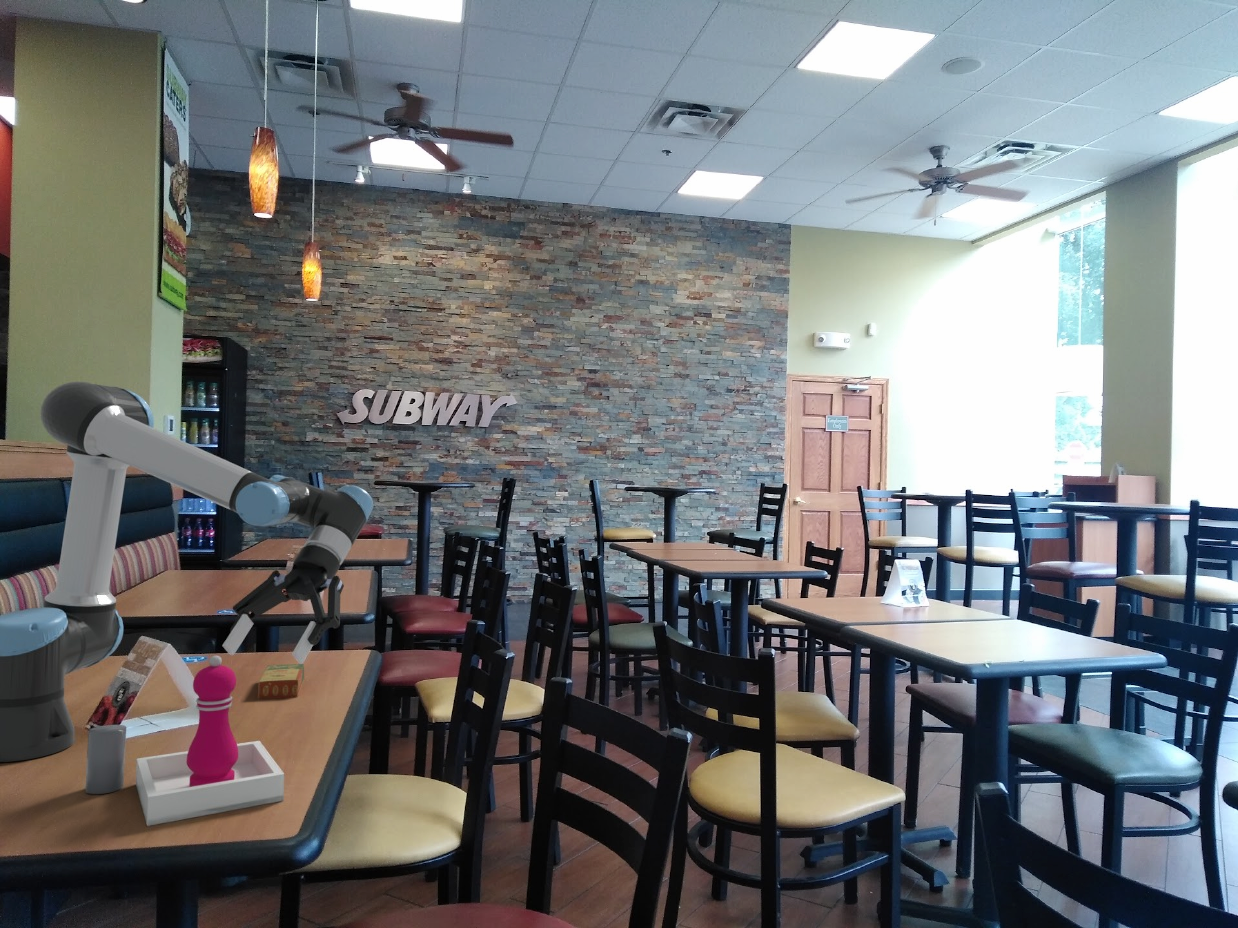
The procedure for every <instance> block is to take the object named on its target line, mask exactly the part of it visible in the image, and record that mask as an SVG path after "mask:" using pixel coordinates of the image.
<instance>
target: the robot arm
mask: <svg viewBox="0 0 1238 928" xmlns="http://www.w3.org/2000/svg"><path fill="white" fill-rule="evenodd" d="M40 407H41V409H40V420H41V423H42V425H43V426H42V427H43V428H44V430H45V431H46V432H47V434H49V436H50V437H51V438H53V439H54V440H55V441H58V442H59V443H61V444H64V445H66V446H67V447H66V453H65V454H66V455H67V456H69V458H70V459H71V460H72V461H73V464H74V465H73V472H72V477H71V484H70V491H69V499H68V505H67V506H68V507H67V512H66V518H65V525H64V532H63V539H62V546H61V553H60V558H59V566H58V572H57V578H56V579H57V580H56V584H55V585H56V586H55V589H54V590H53V591H50V592H49V593H48V594H46V596H44V600H43V606H42V607H32V608H25V609H23V610H14V611H10V612H5V613H4V614H1V615H0V763H9V762H18V761H25V760H32V759H36V758H37V759H38V758H41V757H47V756H49V755H52V754H55V753H58V752H62V751H64V750H66V749H68V748H69V747H71V746H73V745H74V743H75V731H76V730H75V727H74V723H73V721H72V718H71V715H70V712H69V709H68V706H67V704H66V701H65V683H66V681H65V680H66V678H65V677H66V675H68V674H70V673H74V672H76V671H79V670H82V669H85V668H86V669H87V668H89V667H92V666H95V665H97V664H99V663H100V662H101V661H103V660H105V659H107V658H108V657H110V656H111V655H112V654H113V653H114V652H115V651H116V650H117V648H118V647H119V645H120V644H121V641H122V639H123V635H124V623H123V622H124V621H123V619H122V616H120V615H119V611H118V609H116V603H117V598H116V597H115V596H114V595H113V594H112V593H111V591H110V585H111V577H112V569H113V562H114V556H115V550H116V543H117V537H118V529H119V525H120V524H119V523H120V518H121V517H120V516H121V509H122V502H123V495H124V488H125V484H126V483H125V482H126V476H127V469H128V468H129V467H132V468H135V469H136V470H137V469H138V470H140V471H141V472H144V473H146V474H147V475H151V476H153V477H155V478H157V479H159V480H162V481H164V482H167V483H168V484H170V485H171V484H172V485H173V486H176V487H177V488H180V489H182V490H184V491H187V492H188V493H189V492H190V493H192V494H193V495H196V496H199V497H201V498H203V499H205V500H208V501H210V502H212V503H214V504H216V505H218V506H221V507H223V508H226V509H228V510H230V511H232V512H234V513H236V514H238V516H239V518H240V519H241V520H242V521H243V522H245V523H247V524H249V525H251V526H256V527H271V526H274V525H277V524H284V523H290V522H291V523H292V522H295V523H297V524H299V525H302V526H303V525H304V526H307V527H310V528H313V531H312V532H311V533H310V535H309V537H308V538H307V539H306V542H305V543H304V544H303V546H302V547H301V549H300V550H299V552H298V554H297V555H296V557H295V558H294V560H293V561H292V562H293V563H292V568H291V570H290V571H289V572H288V573H286V574H283V573H280V571H279V570H273V571H272V572H271V574H270V575H269V576H268V578H267V579H266V580H264V581H263V582H262V583H261V584H259V585H258V586H257V587H256V588H254V589H253V590H252V591H250V592H249V593H248V594H246V595H245V597H243V598H242V599H240V600H239V601H238V602H237V603H236V604H235V605H233V606H232V610H233V611H234V613H235V614H236V615H237V616H238V617H237V618H236V619H235V621H234V623H233V625H232V626H230V629H229V631H230V633H229V635H228V636H227V638H226V640H225V641H224V642H223V644H222V647H223V648H224V650H225V651H226V652H227V653H228V654H229V655H230V656H235V654H236V652H238V651H237V650H238V649H239V647H240V646H241V645H242V643H243V641H244V640H245V638H246V636H247V635H248V634H249V632H250V630H251V628H252V627H253V625H254V622H253V620H254V619H257V618H258V617H260V616H262V615H263V614H264V613H266V612H268V611H270V610H272V609H274V608H275V607H277V606H278V605H281V603H287V602H289V601H290V600H292V601H303V602H308V600H309V601H310V604H311V608H312V610H313V611H312V612H313V613H314V614H313V615H314V619H315V621H316V622H315V621H314V620H313V621H312V620H311V621H310V622H309V624H308V625H307V627H306V629H305V631H304V633H302V636H301V637H300V639H299V640H298V642H297V644H296V646H295V648H294V649H293V651H292V652H291V656H293V658H294V659H295V660H296V662H297V664H304V662H305V661H306V658H307V657H308V655H309V653H310V651H312V647H313V646H316V645H317V644H318V643H319V642H320V640H321V639H322V636H323V635H324V633H325V631H328V630H329V629H330V628H333V629H337V628H339V627H341V625H340V624H341V595H342V591H343V590H344V587H345V585H344V583H343V582H342V580H341V577H340V576H339V575H337V573H338V572H339V569H340V567H341V565H342V564H343V563H344V561H345V559H346V557H347V556H348V554H349V552H350V550H351V549H352V547H353V545H354V543H355V541H356V539H357V538H358V536H359V535H360V533H361V532H362V530H363V529H364V527H365V526H366V524H368V523H367V522H368V520H369V517H370V515H371V513H372V512H373V508H374V506H375V505H374V500H373V498H372V495H370V494H369V493H368V492H367V491H366V490H365V489H363V488H361V487H360V486H357V485H353V484H351V485H343V486H341V487H340V488H339V490H336V492H334V491H329V490H327V489H326V490H325V489H323V488H319V487H317V486H314V485H311V484H308V483H305V482H302V481H300V480H297V479H295V478H293V477H288V476H284V475H281V474H274V475H272V476H271V477H270V478H269V479H268V478H267V477H264V476H262V475H259V474H257V473H254V472H253V471H250V470H248V469H246V468H243V467H241V466H239V465H237V464H235V463H232V462H230V461H229V460H227V459H224V458H221V457H220V456H217V455H214V454H213V453H211V452H208V451H205V450H204V449H202V448H200V447H197V446H195V445H192V444H191V443H187V442H186V441H183V440H181V439H179V438H176V437H174V436H172V435H170V434H167V433H165V432H163V431H161V430H159V429H157V428H154V426H155V425H154V424H155V423H154V422H155V420H154V415H153V411H152V409H151V408H150V405H149V404H148V403H147V401H146V400H145V399H144V398H143V397H142V396H140V395H139V394H137V393H135V392H134V391H131V390H128V389H125V388H121V387H118V386H109V385H103V384H97V383H92V382H91V383H90V382H85V381H72V382H65V383H63V384H60V385H58V386H56V387H55V388H53V389H52V390H51V391H50V392H49V393H48V394H47V395H46V396H45V397H44V399H43V401H42V404H41V406H40ZM327 589H328V591H327V592H328V593H327V616H326V612H325V609H324V605H323V601H322V597H321V593H322V592H324V591H325V590H327ZM283 590H285V593H286V594H285V593H284V592H283Z"/></svg>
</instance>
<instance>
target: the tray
mask: <svg viewBox="0 0 1238 928" xmlns="http://www.w3.org/2000/svg"><path fill="white" fill-rule="evenodd" d="M237 746H238V760H237V762H236V763H235V764H234V765H233V767H232V768H231V769H232V770H234V772H235V777H234V780H229V781H223V782H217V783H211V784H205V785H199V786H193V787H189V784H190V776H191V775H192V774H193V772H192V771H191V770H190V769H189V768H188V766H187V754H188V751H189V750H186V751H180V752H173V753H167V754H165V753H164V754H159V755H158V754H157V755H154V756H153V755H152V756H145V757H140V758H136V768H135V769H136V771H135V772H136V773H135V787H136V790H137V793H138V797H139V801H140V804H141V805H140V806H141V809H142V813H143V816H144V820H145V823H146V826H147V827H150V826H155V825H159V824H166V823H170V822H172V823H173V822H176V821H181V820H187V819H192V818H197V817H203V816H207V815H213V814H219V813H224V812H229V811H236V810H241V809H245V808H250V807H256V806H261V805H266V804H273V803H277V802H283V801H284V800H285V799H284V797H285V795H284V794H285V773H284V771H283V770H282V769H281V767H280V766H279V765H278V764H277V762H276V761H275V760H274V758H273V757H272V756H271V754H270V753H269V752H268V750H267V749H266V747H265V746H264V744H262V742H261V741H260V740H256V741H255V740H254V741H247V742H241V743H237Z"/></svg>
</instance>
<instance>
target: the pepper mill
mask: <svg viewBox="0 0 1238 928" xmlns="http://www.w3.org/2000/svg"><path fill="white" fill-rule="evenodd" d="M208 664H209V665H208V666H206V667H203V668H202V669H201V670H199V671H198V672H197V673H196V674H195V676H194V678H193V682H192V688H193V692H194V693H195V695H197V697H198V698H197V699H196V700H195V701H196V706H195V708H196V710H198V715H199V716H198V717H199V720H198V726H197V730H196V732H195V735H194V737H193V739H192V741H191V744H190V745H189V748H188V750H187V751H188V754H187V766H188V768H189V769H190V770H191V771H192V772H193V774H192V775H191V776H190V784H189V787H193V786H199V785H205V784H211V783H217V782H223V781H229V780H234V777H235V772H234V770H232V769H231V768H232V767H233V765H234V764H235V763H236V762H237V760H238V746H237V744H238V742H237V741H236V739H235V738H236V737H235V736H234V734H233V732H232V729H231V727H230V726H231V725H230V721H229V720H230V719H229V718H230V717H229V713H230V712H229V711H230V707H232V706H233V702H232V701H233V700H232V699H233V696H232V695H231V693H232V692H233V691H234V689H235V688H236V685H237V677H236V674H235V671H233V670H232V668H231V667H228V666H227V665H223V664H222V657H221V656H220V655H213V656H211V657H210V658H209V660H208Z"/></svg>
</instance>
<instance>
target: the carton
mask: <svg viewBox="0 0 1238 928" xmlns="http://www.w3.org/2000/svg"><path fill="white" fill-rule="evenodd" d="M304 682H305V664H304V663H303V664H300V663H292V664H291V663H290V664H274V665H273V664H272V665H267V667H266V668H265V670H264V672H263V674H262V675H261V677H260V679H259V681H258V683H257V685H258V686H257V689H258V690H257V699H258V700H261V699H262V700H263V699H265V700H266V698H267V699H283V698H284V699H286V698H289V699H290V698H298V696H299V695H298V694H300V691H301V689H302V686H303V684H304Z"/></svg>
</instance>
